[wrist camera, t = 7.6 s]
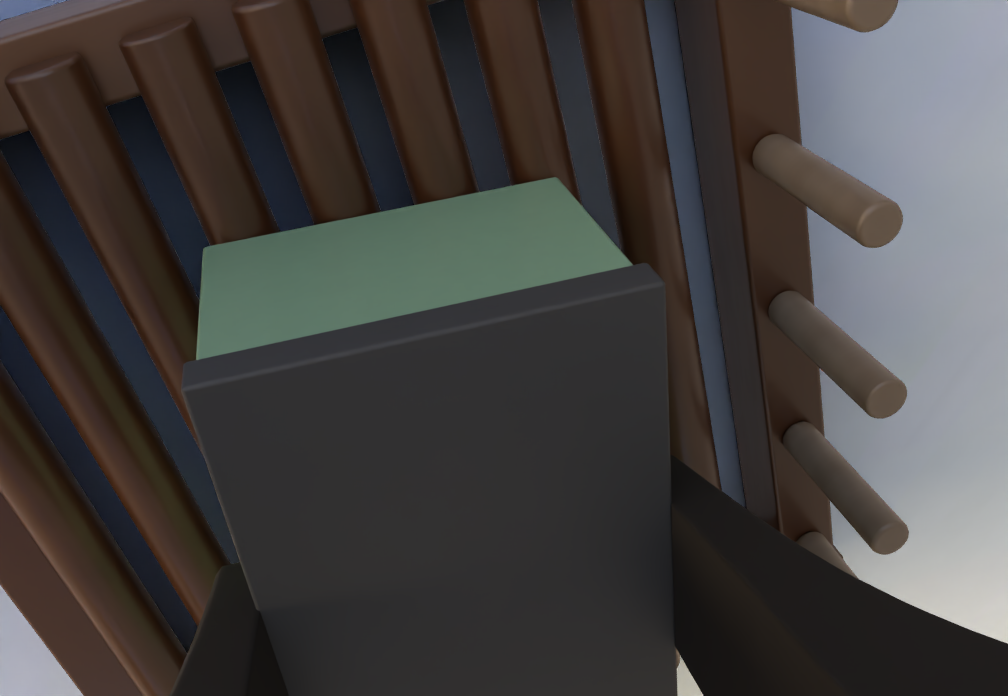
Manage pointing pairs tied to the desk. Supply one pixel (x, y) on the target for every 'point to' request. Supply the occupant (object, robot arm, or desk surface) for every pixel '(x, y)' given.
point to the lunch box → (445, 448)
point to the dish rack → (349, 193)
